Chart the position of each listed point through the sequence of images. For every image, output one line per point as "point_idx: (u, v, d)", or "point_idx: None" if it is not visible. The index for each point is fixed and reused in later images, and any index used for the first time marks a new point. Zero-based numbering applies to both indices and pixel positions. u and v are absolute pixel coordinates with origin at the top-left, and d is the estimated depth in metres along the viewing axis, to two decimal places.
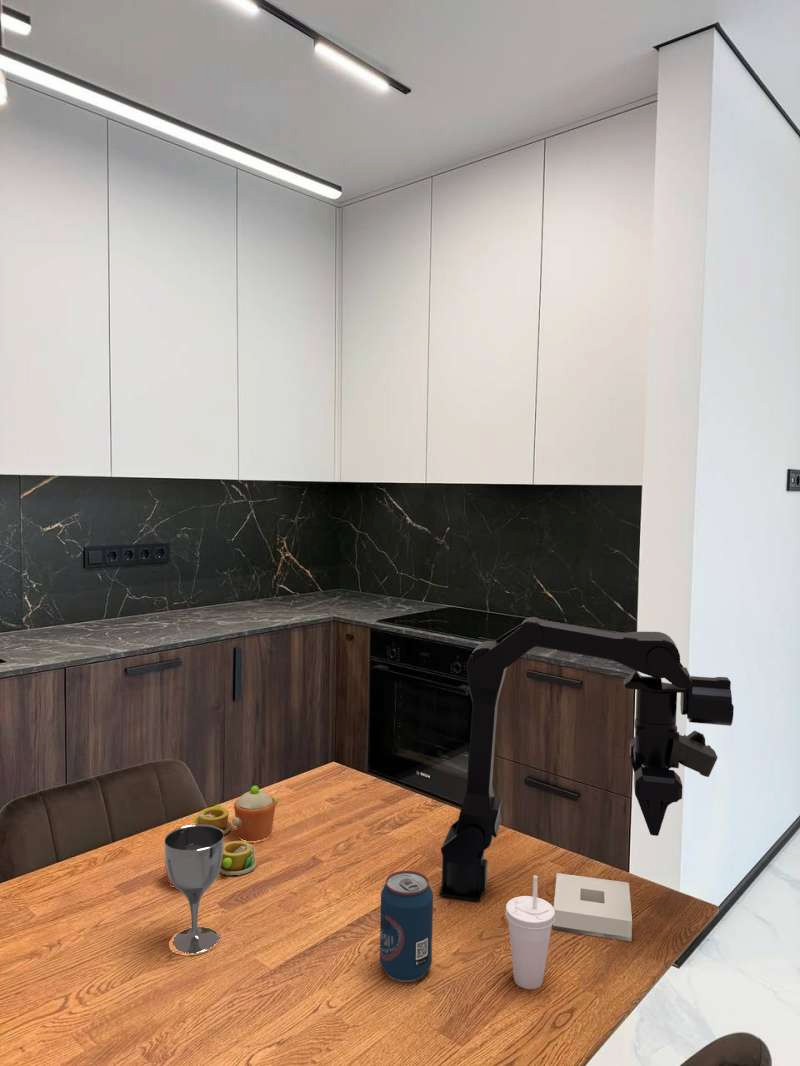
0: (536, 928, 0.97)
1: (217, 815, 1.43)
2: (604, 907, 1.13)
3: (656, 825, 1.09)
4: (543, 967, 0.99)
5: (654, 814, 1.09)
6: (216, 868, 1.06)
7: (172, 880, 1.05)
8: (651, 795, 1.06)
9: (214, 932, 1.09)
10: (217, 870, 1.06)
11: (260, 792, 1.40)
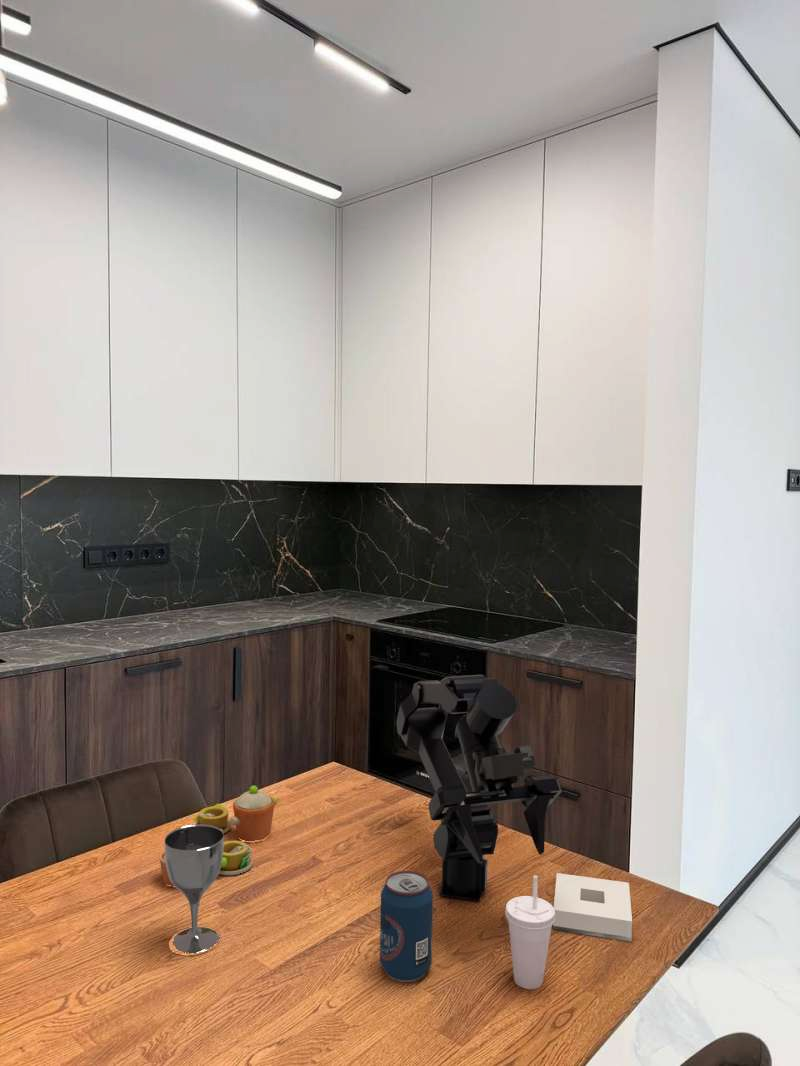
0: (536, 928, 0.97)
1: (217, 814, 1.44)
2: (604, 907, 1.13)
3: (473, 849, 1.05)
4: (543, 967, 0.99)
5: (466, 837, 1.06)
6: (216, 868, 1.06)
7: (172, 880, 1.05)
8: (433, 813, 1.08)
9: (214, 932, 1.09)
10: (217, 870, 1.06)
11: (259, 792, 1.40)
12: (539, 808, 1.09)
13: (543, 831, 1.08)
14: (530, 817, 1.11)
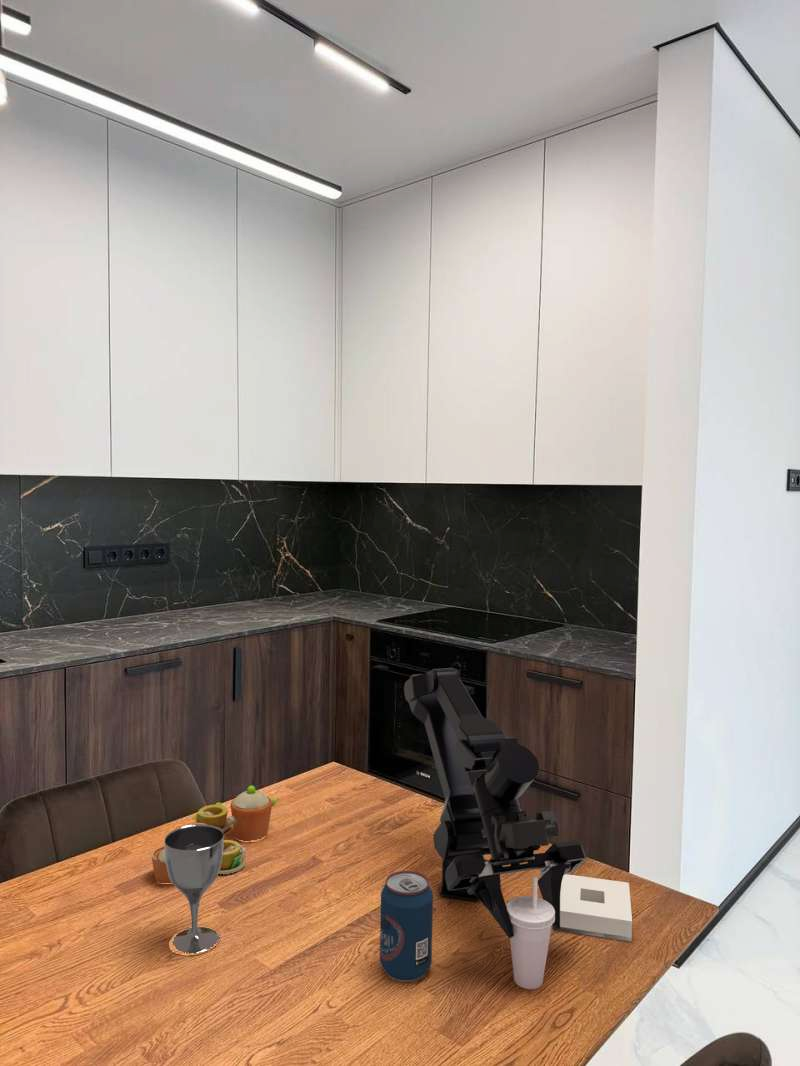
0: (536, 928, 0.97)
1: (217, 813, 1.44)
2: (604, 907, 1.13)
3: (503, 923, 0.98)
4: (543, 967, 0.99)
5: (495, 909, 1.00)
6: (216, 868, 1.06)
7: (172, 880, 1.05)
8: (450, 884, 1.01)
9: (214, 932, 1.09)
10: (217, 870, 1.06)
11: (257, 792, 1.40)
12: (554, 879, 1.02)
13: (558, 904, 1.01)
14: (545, 888, 1.03)
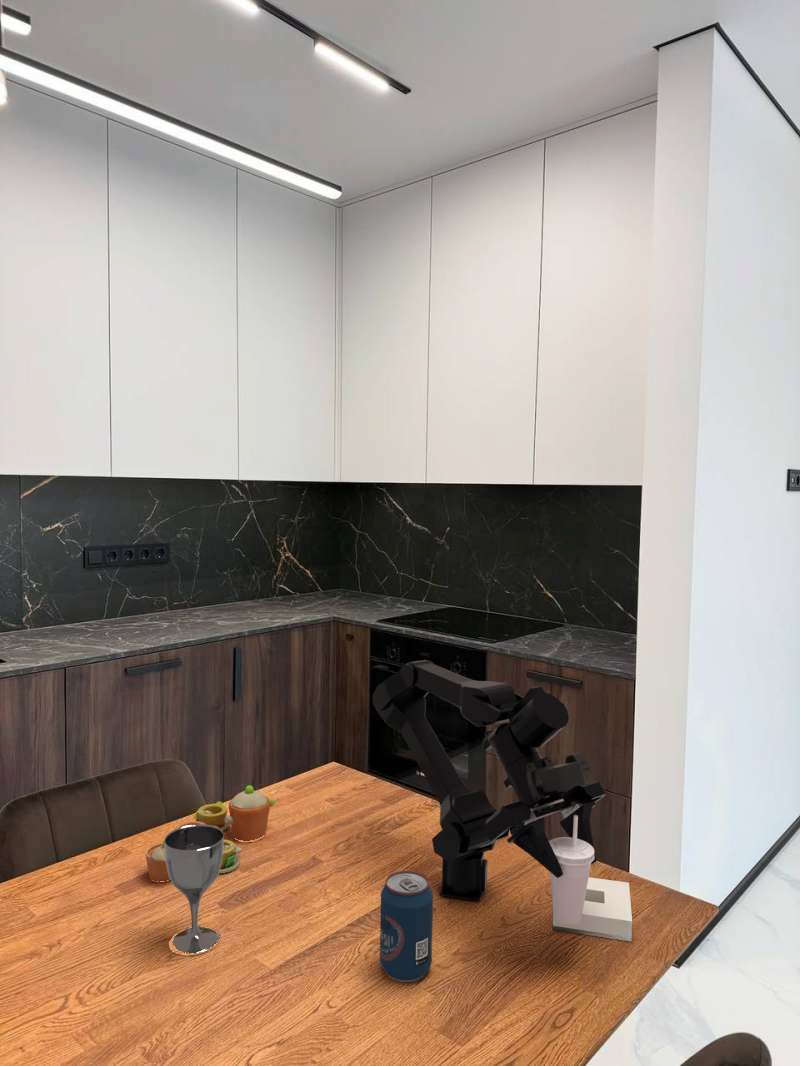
0: (584, 864, 1.01)
1: (217, 812, 1.45)
2: (604, 907, 1.13)
3: (551, 864, 1.01)
4: None
5: (540, 853, 1.02)
6: (216, 868, 1.06)
7: (172, 880, 1.05)
8: (496, 835, 1.02)
9: (214, 932, 1.09)
10: (217, 870, 1.06)
11: (255, 792, 1.40)
12: (584, 817, 1.07)
13: (591, 840, 1.06)
14: (572, 827, 1.08)
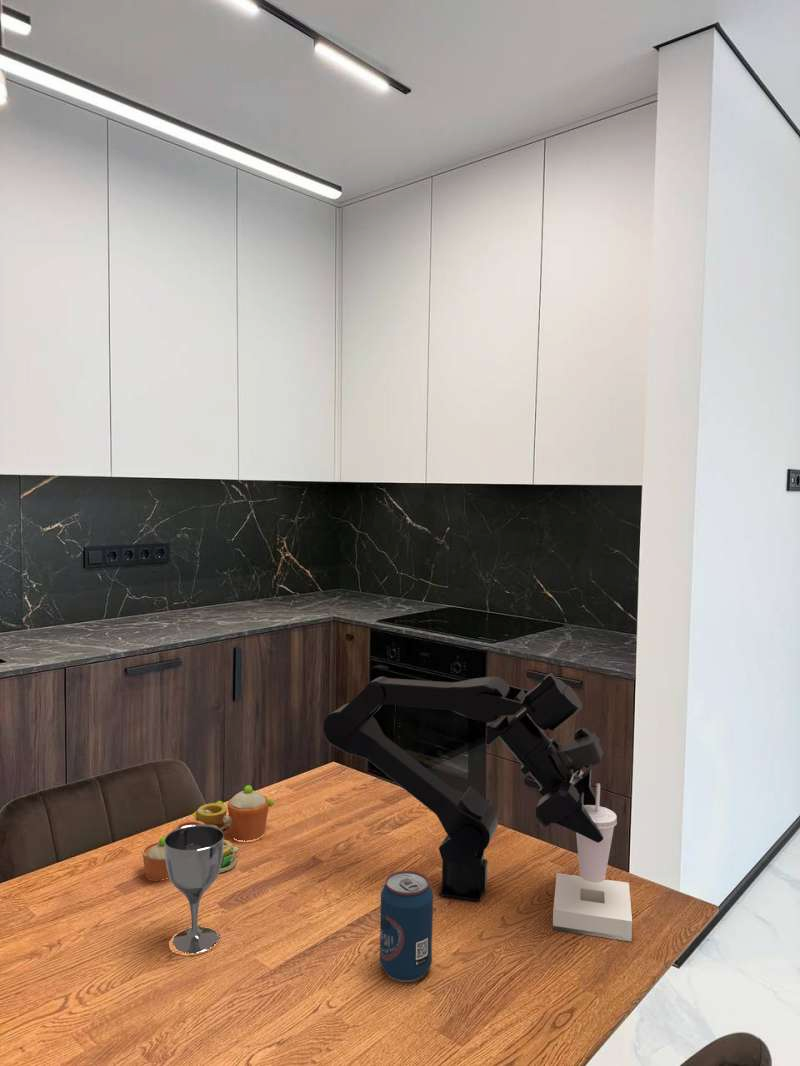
0: (614, 824, 1.13)
1: (217, 811, 1.45)
2: (604, 907, 1.13)
3: (593, 832, 1.11)
4: None
5: (582, 824, 1.11)
6: (216, 868, 1.06)
7: (172, 880, 1.05)
8: (553, 818, 1.08)
9: (214, 932, 1.09)
10: (217, 870, 1.06)
11: (253, 792, 1.40)
12: (589, 784, 1.19)
13: None
14: None
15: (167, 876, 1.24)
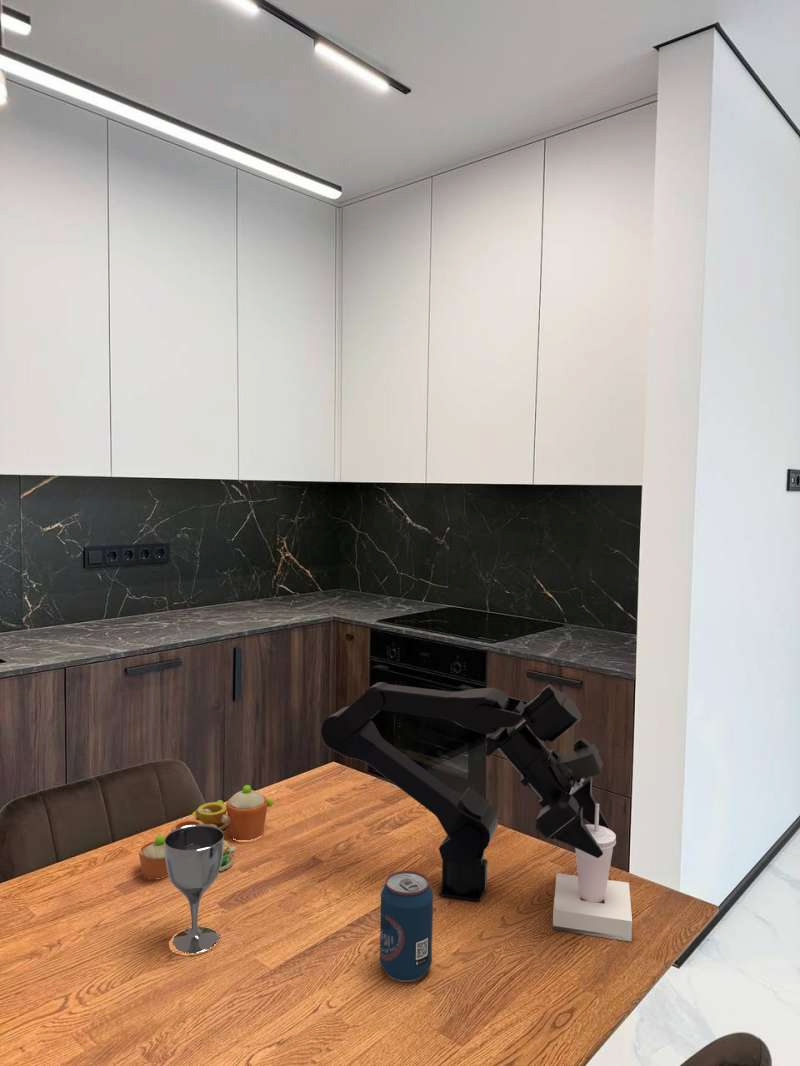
0: (614, 844, 1.14)
1: (217, 811, 1.45)
2: (604, 907, 1.13)
3: (592, 847, 1.10)
4: None
5: (581, 840, 1.10)
6: (216, 868, 1.06)
7: (172, 880, 1.05)
8: (554, 830, 1.08)
9: (214, 932, 1.09)
10: (217, 870, 1.06)
11: (252, 792, 1.40)
12: (590, 791, 1.20)
13: (600, 810, 1.20)
14: (579, 803, 1.21)
15: (163, 875, 1.25)
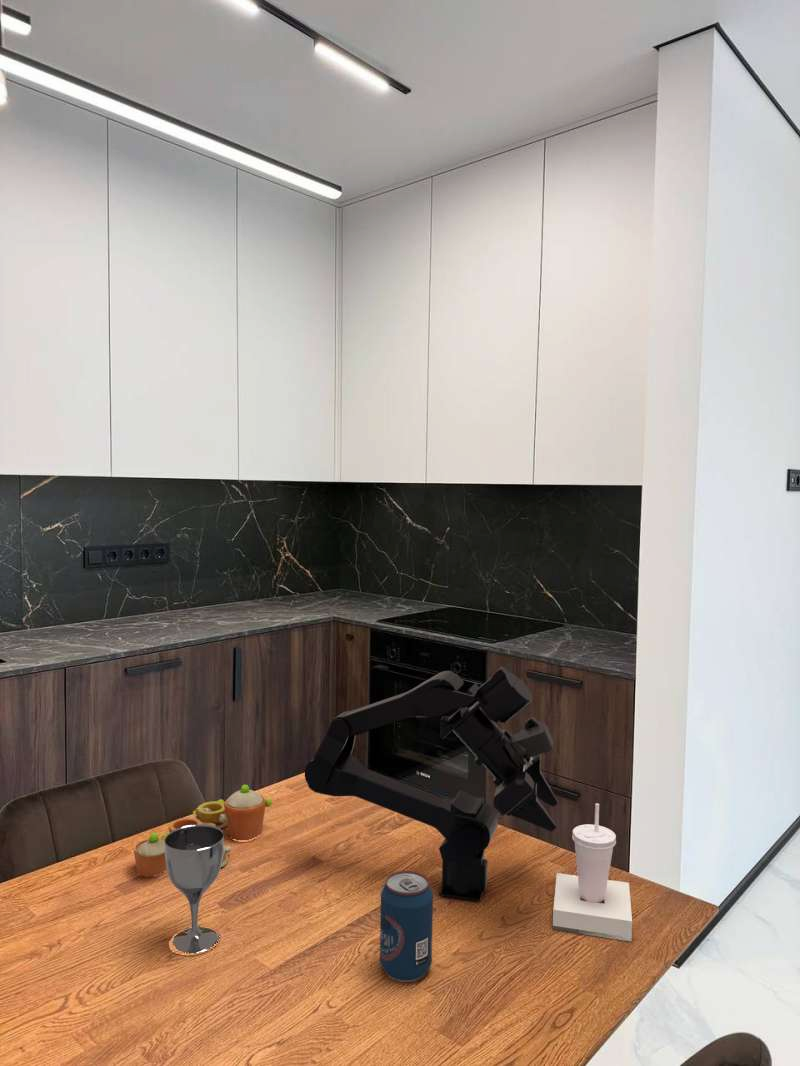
0: (614, 844, 1.14)
1: (217, 810, 1.46)
2: (604, 907, 1.13)
3: (546, 821, 1.14)
4: None
5: (536, 815, 1.13)
6: (216, 868, 1.06)
7: (172, 880, 1.05)
8: (511, 806, 1.11)
9: (214, 932, 1.09)
10: (217, 870, 1.06)
11: (250, 792, 1.40)
12: (540, 769, 1.24)
13: (549, 786, 1.24)
14: None
15: (157, 872, 1.25)
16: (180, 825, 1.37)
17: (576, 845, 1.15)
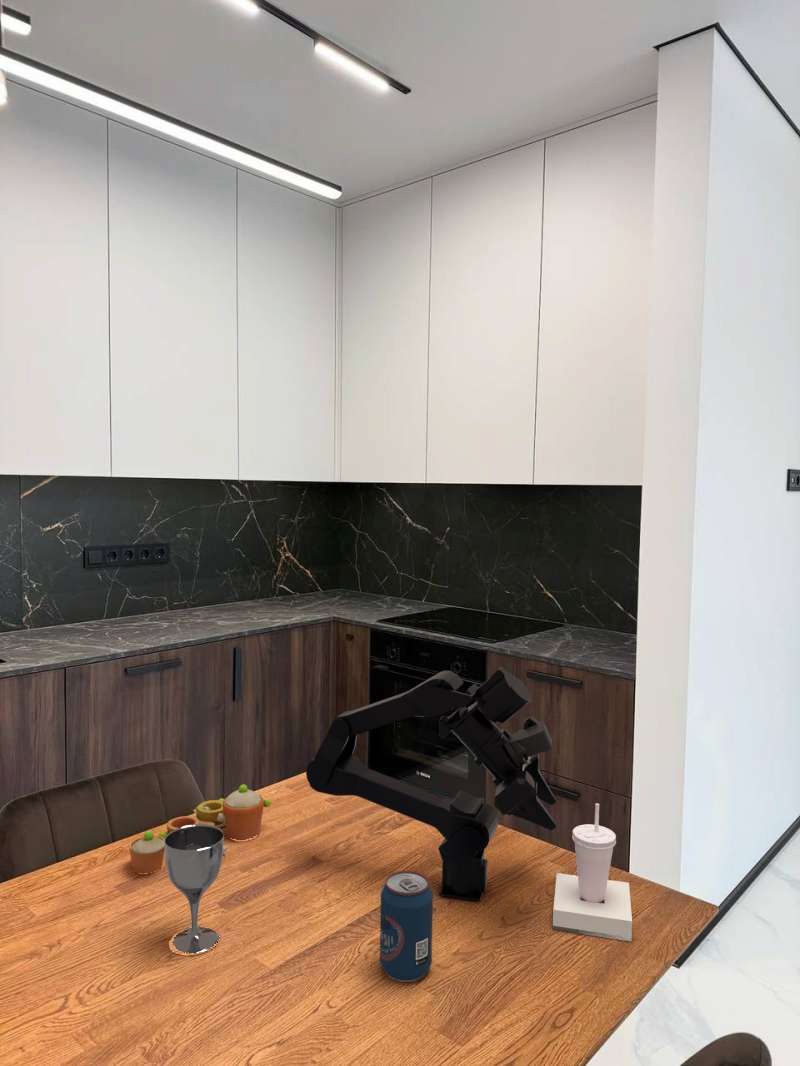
0: (614, 844, 1.14)
1: (217, 809, 1.46)
2: (604, 907, 1.13)
3: (547, 820, 1.14)
4: None
5: (536, 814, 1.14)
6: (216, 868, 1.06)
7: (172, 880, 1.05)
8: (512, 806, 1.11)
9: (214, 932, 1.09)
10: (217, 870, 1.06)
11: (248, 791, 1.40)
12: (538, 768, 1.25)
13: (547, 785, 1.24)
14: None
15: (151, 870, 1.26)
16: (179, 823, 1.38)
17: (576, 845, 1.15)
